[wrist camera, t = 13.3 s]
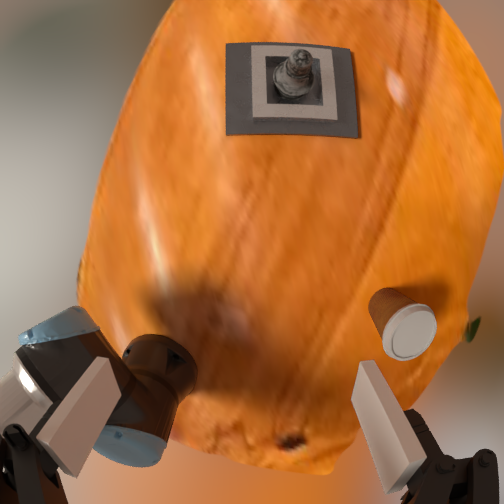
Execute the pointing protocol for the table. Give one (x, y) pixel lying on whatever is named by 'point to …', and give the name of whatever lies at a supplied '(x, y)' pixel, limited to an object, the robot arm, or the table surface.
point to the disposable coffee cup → (402, 324)
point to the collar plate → (279, 109)
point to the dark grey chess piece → (294, 76)
